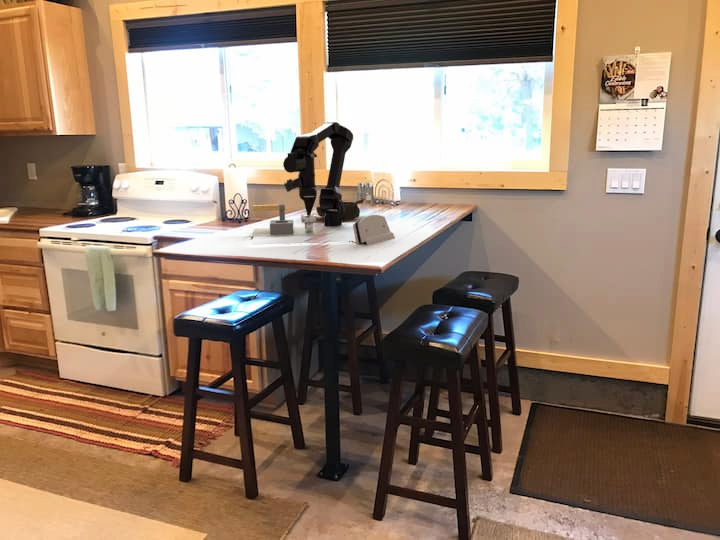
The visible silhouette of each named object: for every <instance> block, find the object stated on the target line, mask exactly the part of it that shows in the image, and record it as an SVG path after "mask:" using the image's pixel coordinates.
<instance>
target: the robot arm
mask: <svg viewBox="0 0 720 540" xmlns="http://www.w3.org/2000/svg"><path fill="white" fill-rule="evenodd" d="M327 138H328V139H329V140H330V145H331V148H332V156H331V161H330V167H329V173H328V176H327V177H328V178H327V182H326V186H325V187H323V188H322V187H321V189H320V193H319V196H318V193H317V191H318V190H317V188H316V172H315V171H316V170H315V169H316V168H315V158H317V157H318V154H317V153H315V151H316V150H317V149H318V148H319V146H320V143H321V142H323V141H325V140H326V139H327ZM353 140H354V134H353V132H352V131H351V130H350V129H348V128H347V127H345V126H343V125H341V124H340V123H339V122H337V121H326V122H324V124H323V125H321V126H320V127H318V128H316V129H314V130H313V131H311V132H309V133H304V134H300V135H297V136H296V137H295V139H294V141H293V144H292V147H291V148H290V149H291V150H290V152H288V153H287V156H286V157H285V158H284V160H283V163H282V165H283V168H284V170H285V171H286V172H287V173H289V174H292V173H298V174H297V175H298V176H297V177H295V178H293V179H292V178H289V179H286V181H285V182H284V183H283V186H284V188H285V190H286V192H287V193H289V192H291V191H292V190H296V189H297V188H298V192H299V193H298V196H299V198H300V199H301V200H302V201H303V202H304V207H305V212H306V214H307V215H310V214H312V211H313V208H314V207H313V205H315V202H316V199H317V196H318V204H320V208H321V212H325V215H324V217H323V226H324V227H342V226H343V223H342V222H343V221H342V215H341V213H344V212H345V210H346V206H345V204H344V203H343V196H342V195H343V194H342V192H341V189H340V185H341V179H342V174H343V170H344V169H343V168H344V165H345V159H346V158H345V157H346V153H347V152H348V151H349V150H350V149H351V147H352V143H353ZM335 209H337V210H335Z"/></svg>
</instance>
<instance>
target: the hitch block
mask: <svg viewBox="0 0 720 540" xmlns="http://www.w3.org/2000/svg"><path fill="white" fill-rule="evenodd" d="M278 213H279V216H278V217H279V219H277V220H276V219H273V220H272V219H271V220H270V222H269V227H266V228H264V227H263V228H254V229H253V232H252V233H251V236H250V239H251V240H253V239H254V238H257V237H279V236H281V237H283V236H304V235H305V236H308V235H311V236H312V235H318V230H317V226H313V232H311V233H306V232H305V226H302V227H300V226H298V227H297V226H296V227H295V226H294V219H286V209H285V210H278Z"/></svg>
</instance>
